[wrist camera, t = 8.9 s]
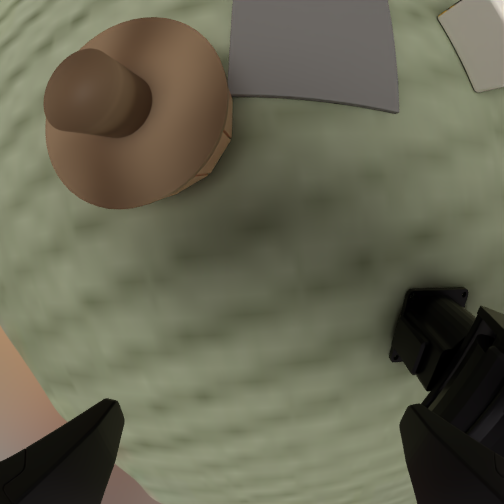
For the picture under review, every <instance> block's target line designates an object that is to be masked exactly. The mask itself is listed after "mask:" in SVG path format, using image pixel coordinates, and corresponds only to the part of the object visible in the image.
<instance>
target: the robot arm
mask: <svg viewBox="0 0 504 504" xmlns="http://www.w3.org/2000/svg"><path fill="white" fill-rule="evenodd" d="M412 294H414V295H413V297H411V295H412ZM462 294H463V295H462ZM410 297H411V298H410ZM467 297H468V290H467V289H466V288H464V287H457V288H418V289H410V290H408V291H407V293H406V295H405V300H404V304H403V308H402V312H401V316H400V317H399V320H398V323H397V327H396V331H395V334H394V338H393V341H392V348H391V351H390V355H389V358H390V360H391V361H392V362H402V361H403V362H404V363H405V365H406V367H407V368H408V370H409V371H410V373H411V374H412V375H416V376H417V377H418V379H419V380H420V382H421V383H422V385H423V386H424V388H425V389H426V391H430V393H429V394H428V395H427V397H426V398H425V399H424V401H423V402H422V403H421V404H413V405H410V406H408V407H407V409H406V411H405V413H404V415H403V417H402V419H401V421H400V433H401V438H402V443H403V448H404V454H405V459H406V464H407V468H408V471H409V475H410V478H411V482H412V485H413V489H414V493H415V496H416V500H417V504H504V314H501V313H499V312H496V311H494V310H491V309H489V308H486V307H483V306H480V308H479V310H478V312H477V314H478V315H477V317H475V316H473V315H472V314H471V313H470V312H469V311H467V310H466V309H465V308H464V307H465V304H466V300H467ZM394 356H395V357H394ZM123 427H124V416H123V413H122V410H121V408H120V405H119V403H118V401H116V400H113V399H108V398H105V399H103V400H102V401H100V402H99V403H97V404H95V405H94V406H92V407H91V408H89V409H88V410H86V411H85V412H83V413H82V414H80V415H78V416H77V417H75V418H74V419H72V420H71V421H69V422H67V423H66V424H64V425H63V426H61V427H59V428H58V429H56V430H55V431H53V432H51V433H50V434H48V435H46V436H45V437H43V438H42V439H40V440H38V441H37V442H35V443H33V444H32V445H30V446H28V447H27V448H26V449H23V450H21V451H20V452H18V453H16V454H14V455H13V456H11V457H9V458H7V459H5V460H3V461H0V504H101V501H102V498H103V495H104V492H105V489H106V486H107V484H108V481H109V478H110V475H111V472H112V469H113V467H114V464H115V460H116V456H117V452H118V448H119V443H120V439H121V435H122V431H123Z"/></svg>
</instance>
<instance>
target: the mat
mask: <svg viewBox="0 0 504 504" xmlns="http://www.w3.org/2000/svg"><path fill="white" fill-rule="evenodd" d="M228 89H229V91H230V94H231V97H268V98H286V99H300V100H311V101H320V102H329V103H337V104H344V105H351V106H357V107H363V108H369V109H374V110H380V111H385V112H390V113H394V114H396V113H399V92H398V75H397V63H396V53H395V44H394V36H393V29H392V22H391V16H390V10H389V4H388V0H233V6H232V20H231V35H230V52H229V70H228Z"/></svg>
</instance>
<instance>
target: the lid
mask: <svg viewBox="0 0 504 504" xmlns="http://www.w3.org/2000/svg"><path fill="white" fill-rule="evenodd" d="M228 107H229V89H228V83H227V78H226V75H225V72H224V69H223V66H222V64H221V61H220V58H219V57H218V55H217V53H216V51H215V49H214V48H213V47H212V45H211V44H210V43H209V42H208V40H207V39H206V38H205V37H204V36H202V35H201V34H200V33H199V32H198V31H196V30H195V29H193V28H192V27H190V26H188V25H186V24H183V23H181V22H179V21H175V20H171V19H167V18H157V17H151V18H139V19H134V20H130V21H126V22H123V23H120V24H118V25H115V26H113V27H111V28H109V29H107V30H105V31H103V32H102V33H100V34H98V35H97V36H96V37H94V38H93V39H91V40H90V41H89V42H88V43H86V44H85V45H84V46H83V47H82V48H81V49H80V50H79V51H77V52H75V53H73V54H71V55H70V56H68V57H67V58H66V59H65V60H64V61H63V62H62V63H61V64H60V65H59V66H58V67H57V68H56V70H55V71H54V72H53V74H52V76H51V78H50V80H49V82H48V84H47V87H46V90H45V95H44V112H45V115H46V144H47V149H48V153H49V157H50V160H51V163H52V165H53V167H54V169H55V171H56V173H57V175H58V176H59V178H60V179H61V181H62V182H63V184H64V185H65V186H66V187H67V188H68V189H69V190H70V191H71V192H72V193H74V194H75V195H76V196H77V197H79V198H80V199H82V200H84V201H86V202H88V203H90V204H93V205H95V206H98V207H103V208H108V209H129V208H135V207H139V206H143V205H147V204H150V203H152V202H155V201H158V200H160V199H163V198H165V197H167V196H169V195H170V194H172V193H174V192H176V191H177V190H179V189H180V188H181V187H183V186H184V185H186V184H187V183H188V182H189V181H190V180H191V179H192V178H193V177H195V176H196V175H197V174H198V172H199V171H200V170H201V169H202V168H203V167H204V165H205V164H206V163H207V161H208V160H209V158H210V157H211V155H212V154H213V152H214V151H215V149H216V147H217V145H218V143H219V141H220V138H221V136H222V133H223V131H224V128H225V124H226V120H227V115H228Z"/></svg>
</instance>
